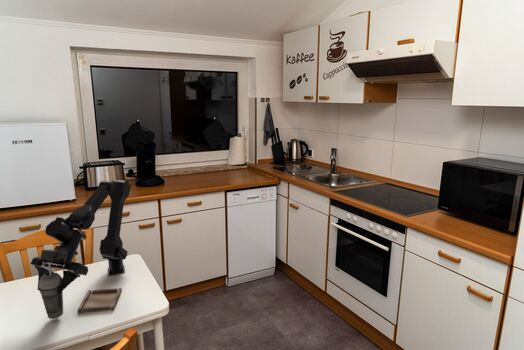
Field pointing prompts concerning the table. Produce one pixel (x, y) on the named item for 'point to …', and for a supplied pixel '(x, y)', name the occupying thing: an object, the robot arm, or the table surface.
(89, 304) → the walnut tray
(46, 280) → the beverage cup
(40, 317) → the table surface
